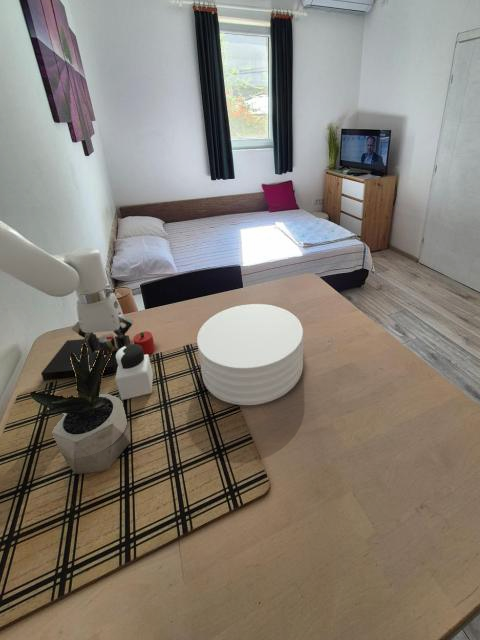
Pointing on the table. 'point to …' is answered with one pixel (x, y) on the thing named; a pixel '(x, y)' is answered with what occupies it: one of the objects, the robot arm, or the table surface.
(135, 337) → the pepper
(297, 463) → the table surface
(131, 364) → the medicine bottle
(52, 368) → the hob
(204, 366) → the plate stack
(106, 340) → the hob knob
